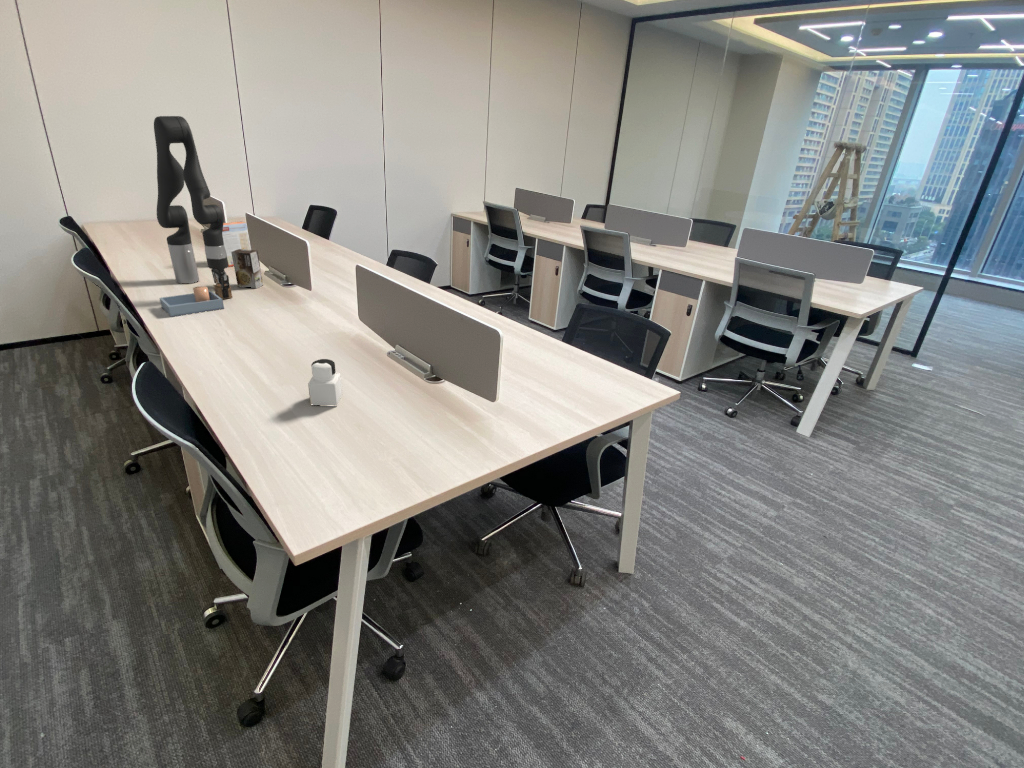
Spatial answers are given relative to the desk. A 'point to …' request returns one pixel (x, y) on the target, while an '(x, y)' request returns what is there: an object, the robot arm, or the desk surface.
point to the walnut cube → (219, 291)
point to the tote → (190, 304)
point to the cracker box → (235, 238)
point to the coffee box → (247, 268)
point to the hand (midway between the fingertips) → (223, 295)
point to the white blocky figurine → (324, 383)
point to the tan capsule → (201, 294)
